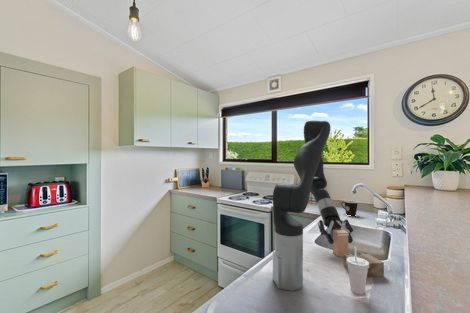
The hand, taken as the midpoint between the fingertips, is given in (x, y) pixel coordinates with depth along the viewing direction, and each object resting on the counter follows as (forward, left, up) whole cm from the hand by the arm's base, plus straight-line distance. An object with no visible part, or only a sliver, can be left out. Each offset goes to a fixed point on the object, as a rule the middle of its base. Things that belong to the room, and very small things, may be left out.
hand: (341, 243), depth 95 cm
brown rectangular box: (0, -13, -5) cm, 14 cm away
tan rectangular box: (0, +1, -5) cm, 5 cm away
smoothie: (-10, -24, -6) cm, 27 cm away
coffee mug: (+46, +63, -6) cm, 78 cm away
